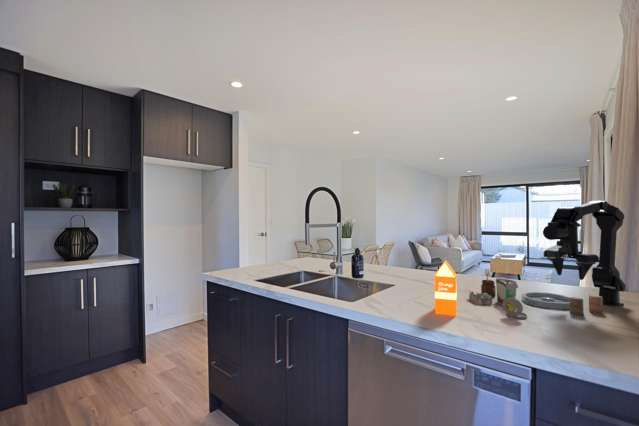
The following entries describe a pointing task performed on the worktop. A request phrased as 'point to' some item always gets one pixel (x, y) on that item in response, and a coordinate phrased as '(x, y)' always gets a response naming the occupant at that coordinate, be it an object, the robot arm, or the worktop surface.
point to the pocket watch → (513, 307)
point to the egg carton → (480, 298)
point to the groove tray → (546, 300)
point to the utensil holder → (488, 286)
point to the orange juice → (445, 290)
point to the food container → (505, 289)
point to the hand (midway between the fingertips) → (570, 277)
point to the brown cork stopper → (595, 304)
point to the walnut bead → (576, 306)
